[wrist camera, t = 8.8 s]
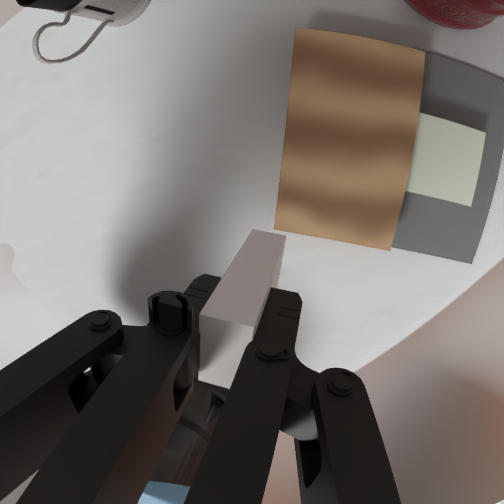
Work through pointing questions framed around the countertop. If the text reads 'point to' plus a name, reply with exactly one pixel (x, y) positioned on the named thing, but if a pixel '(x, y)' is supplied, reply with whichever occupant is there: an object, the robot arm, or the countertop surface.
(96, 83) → the countertop surface
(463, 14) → the canister
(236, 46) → the countertop surface
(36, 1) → the glass holder
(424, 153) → the coaster
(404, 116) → the plate
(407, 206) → the mat
